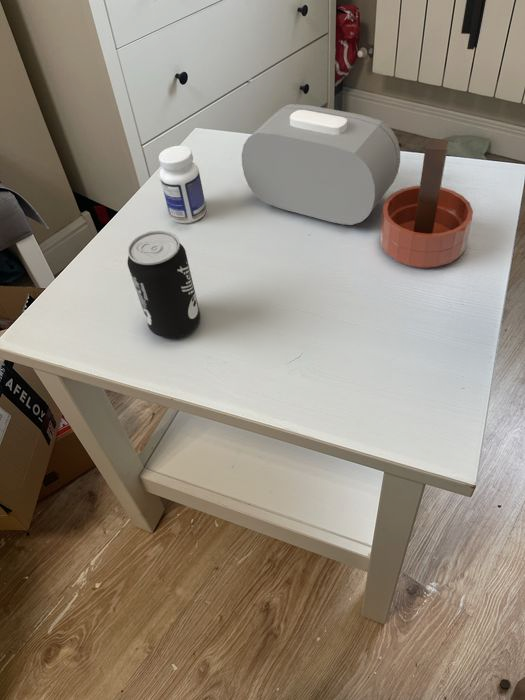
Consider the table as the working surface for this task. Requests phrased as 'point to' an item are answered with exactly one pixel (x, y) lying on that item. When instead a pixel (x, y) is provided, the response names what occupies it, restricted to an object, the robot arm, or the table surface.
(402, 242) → the bowl
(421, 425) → the table surface
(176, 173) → the pill bottle
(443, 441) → the table surface
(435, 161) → the stick
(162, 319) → the beverage can
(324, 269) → the table surface
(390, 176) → the alarm clock
